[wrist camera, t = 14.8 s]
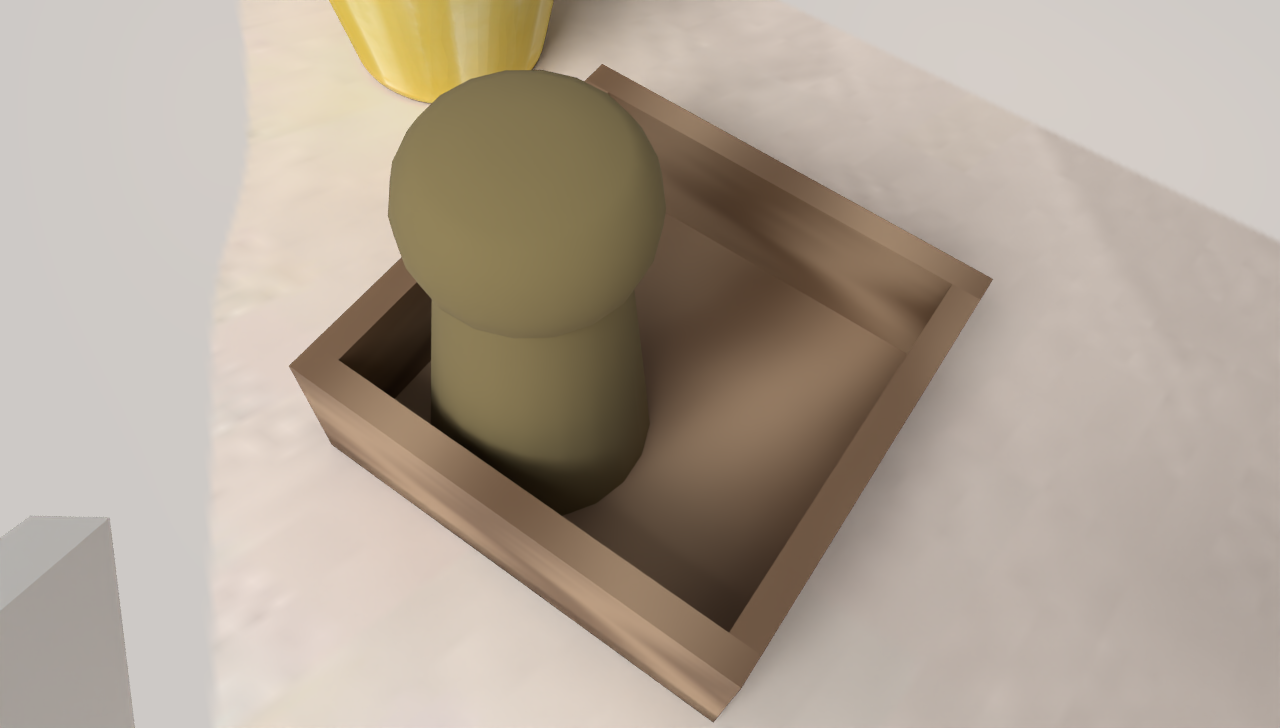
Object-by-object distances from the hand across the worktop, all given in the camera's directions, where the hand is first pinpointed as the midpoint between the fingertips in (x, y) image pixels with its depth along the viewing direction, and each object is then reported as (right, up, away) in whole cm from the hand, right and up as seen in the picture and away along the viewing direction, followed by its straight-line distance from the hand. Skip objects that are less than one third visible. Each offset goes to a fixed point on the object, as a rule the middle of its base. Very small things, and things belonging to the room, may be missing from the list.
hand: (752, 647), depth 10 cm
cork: (-4, +1, +16) cm, 17 cm away
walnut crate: (-1, +2, +17) cm, 18 cm away
